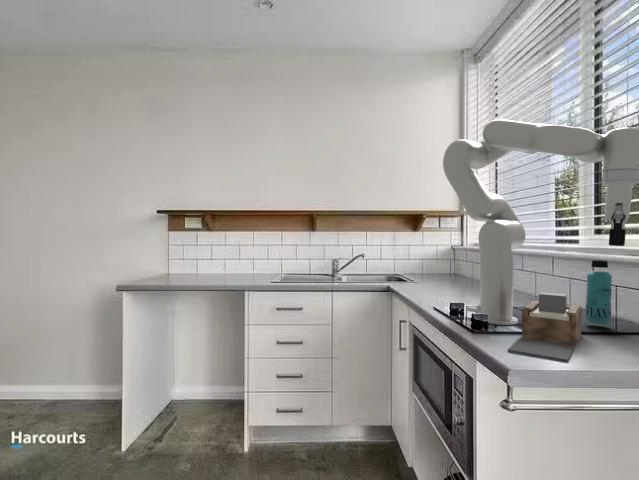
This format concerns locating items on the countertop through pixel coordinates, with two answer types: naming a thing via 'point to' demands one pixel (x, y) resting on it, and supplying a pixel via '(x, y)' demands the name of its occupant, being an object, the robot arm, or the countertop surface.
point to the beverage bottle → (598, 294)
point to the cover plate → (549, 314)
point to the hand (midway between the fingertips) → (616, 245)
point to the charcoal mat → (542, 349)
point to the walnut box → (552, 326)
